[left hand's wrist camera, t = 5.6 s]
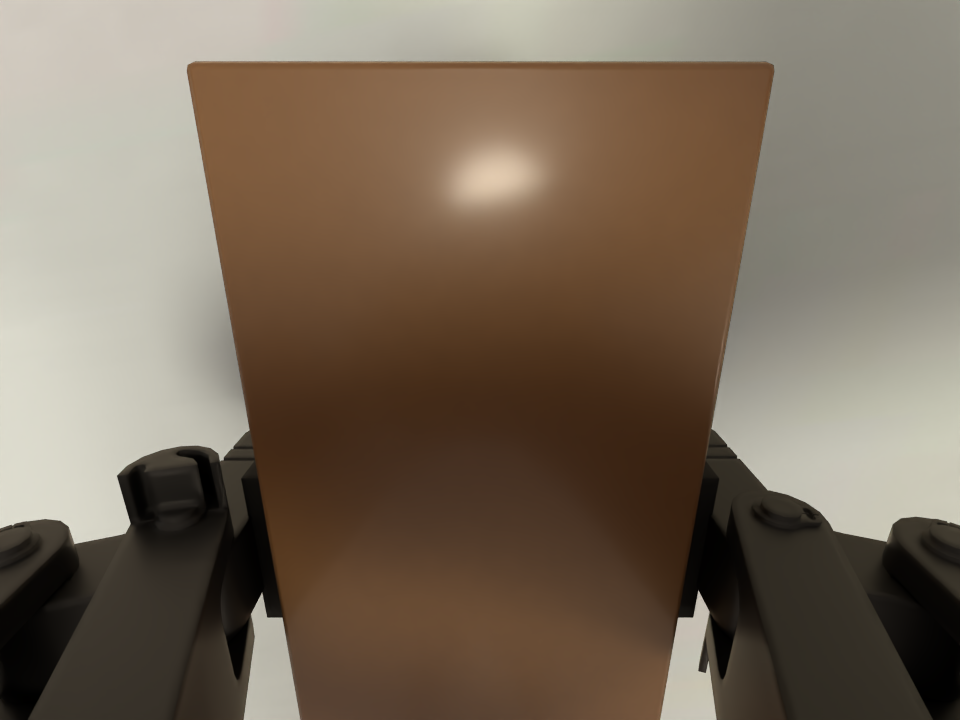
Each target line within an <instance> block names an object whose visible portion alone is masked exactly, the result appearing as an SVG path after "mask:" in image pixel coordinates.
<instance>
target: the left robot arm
mask: <svg viewBox="0 0 960 720" xmlns="http://www.w3.org/2000/svg"><path fill="white" fill-rule="evenodd" d="M117 477H118V481H119V484H120V488H121V491H122V495H123V498H124V502H125V505H126V509H127V512H128V516H129V519H130V523H131V525H130V527H129V528H128V530H127V532H126V534H123V535H119V536H114V537H109V538H103V539H98V540H93V541H88V542H83V543H78V544H74V542H73V539H72V536H71V533H70V530H69V527H68V526H67V525H65V524H64V523H63V522H61V521H57V520H47V519H44V520H36V521H28V522H27V521H26V522H21V523H16V524H14V525H13V526H12V525H9V526H6V527H3V528H1V529H0V720H243V719H244V712H245V704H246V697H247V690H248V682H249V675H250V667H251V660H252V653H253V645H254V638H255V636H254V628H253V622H252V618H251V613H252V611H253V609H254V607H255V605H256V603H257V601H258V599H259V597H260V595H261V593H262V592H263V597H264V603H265V608H266V613H267V617H282V611H281V605H280V599H279V594H278V588H277V582H276V577H275V571H274V565H273V559H272V554H271V548H270V542H269V537H268V531H267V525H266V520H265V514H264V508H263V502H262V497H261V491H260V485H259V480H258V474H257V468H256V462H255V457H254V451H253V445H252V440H251V434H250V431H248V432H247V433H245V434H244V435H243V437H242V438H241V439H240V440H239V441H238V442H237V443H236V444H235V446H234V449H231V450H230V451H229V452H228V454H227V455H226V456H225V457H224V461H220V460H219V455H218V453H216V452H215V451H214V450H212V449H211V448H207V447H201V446H181V447H175V448H171V449H166V450H161V451H158V452H155V453H153V454H150V455H147V456H144V457H142V458H140V459H139V460H137V461H135V462H133V463H131V464H130V465H128V466H127V467H126V468H125V469H124V470H122V471H121V472H120V473H119V474H118V475H117ZM698 590H699V592H700V594H701V596H702V598H703V600H704V602H705V603H706V605H707V607H708V609H709V611H710V613H709V618H708V622H707V627H706V632H705V637H704V642H703V647H702V652H701V657H700V663H699V670H698V671H700V672H704V673H706V669H707V664H708V661H709V666H710V673H711V681H712V688H713V696H714V703H715V710H716V718H717V720H960V526H959V525H956V524H953V523H947V521H942V520H938V519H928V518H921V517H910V518H901V519H900V520H898V521H897V522H895V523H894V524H893V525H892V528H891V531H890V534H889V537H888V540H887V542H884V541H879V540H874V539H869V538H864V537H859V536H854V535H849V534H843V533H839V532H835V531H833V529H832V527H831V526H830V524H829V522H828V521H827V520H826V519H825V518H824V516H823V515H822V514H821V513H820V512H819V511H817V510H816V509H814V508H813V507H811V506H810V505H808V504H807V503H805V502H803V501H801V500H798V499H796V498H794V497H791V496H789V495H786V494H782V493H777V492H773V491H768V490H767V489H766V488H765V487H764V486H763V485H762V483H761V482H760V481H759V480H758V479H757V478H756V477H755V476H754V474H753V473H752V472H751V471H750V470H749V469H748V468H747V467H746V465H745V464H744V463H743V462H742V461H741V460H740V459H737V455H736V454H735V453H734V452H733V451H732V450H731V449H730V448H729V447H727V444H726V443H725V442H724V441H723V440H722V439H721V437H720V436H719V435H718V434H717V433H716V432H715V431H714V430H712V429H711V433H710V438H709V444H708V450H707V455H706V461H705V467H704V472H703V478H702V484H701V489H700V495H699V501H698V506H697V512H696V518H695V524H694V529H693V535H692V541H691V546H690V552H689V558H688V563H687V569H686V575H685V580H684V586H683V592H682V597H681V603H680V609H679V614H678V617H693V615H694V610H695V605H696V599H697V594H698Z"/></svg>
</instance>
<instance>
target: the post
mask: <svg viewBox="0 0 960 720" xmlns="http://www.w3.org/2000/svg"><path fill="white" fill-rule="evenodd" d="M187 74H188V80H189V86H190V91H191V97H192V103H193V108H194V114H195V120H196V126H197V131H198V137H199V143H200V148H201V154H202V160H203V166H204V171H205V177H206V183H207V188H208V194H209V200H210V206H211V211H212V217H213V223H214V228H215V234H216V240H217V246H218V251H219V257H220V263H221V268H222V274H223V280H224V285H225V291H226V297H227V303H228V308H229V314H230V320H231V325H232V331H233V337H234V343H235V348H236V354H237V360H238V365H239V371H240V377H241V383H242V388H243V394H244V400H245V405H246V411H247V417H248V422H249V428H250V434H251V440H252V445H253V451H254V457H255V462H256V468H257V474H258V480H259V485H260V491H261V497H262V502H263V508H264V514H265V520H266V525H267V531H268V537H269V542H270V548H271V554H272V559H273V565H274V571H275V577H276V582H277V588H278V594H279V599H280V605H281V611H282V617H283V622H284V628H285V634H286V639H287V645H288V651H289V657H290V662H291V668H292V674H293V679H294V685H295V691H296V697H297V702H298V708H299V714H300V719H301V720H660V716H661V711H662V705H663V699H664V694H665V688H666V682H667V677H668V671H669V665H670V660H671V654H672V648H673V643H674V637H675V631H676V626H677V620H678V614H679V609H680V603H681V597H682V592H683V586H684V580H685V575H686V569H687V563H688V558H689V552H690V546H691V541H692V535H693V529H694V524H695V518H696V512H697V506H698V501H699V495H700V489H701V484H702V478H703V472H704V467H705V461H706V455H707V450H708V444H709V438H710V433H711V427H712V421H713V416H714V410H715V404H716V399H717V393H718V387H719V382H720V376H721V370H722V365H723V359H724V353H725V348H726V342H727V336H728V331H729V325H730V319H731V314H732V308H733V302H734V297H735V291H736V285H737V280H738V274H739V268H740V263H741V257H742V251H743V246H744V240H745V234H746V229H747V223H748V217H749V212H750V206H751V200H752V194H753V189H754V183H755V177H756V172H757V166H758V160H759V155H760V149H761V143H762V138H763V132H764V126H765V121H766V115H767V109H768V104H769V98H770V92H771V87H772V81H773V75H774V66H773V65H772V64H770V63H768V62H369V61H195V62H193V63H191V64H189V65H188V67H187Z"/></svg>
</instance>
